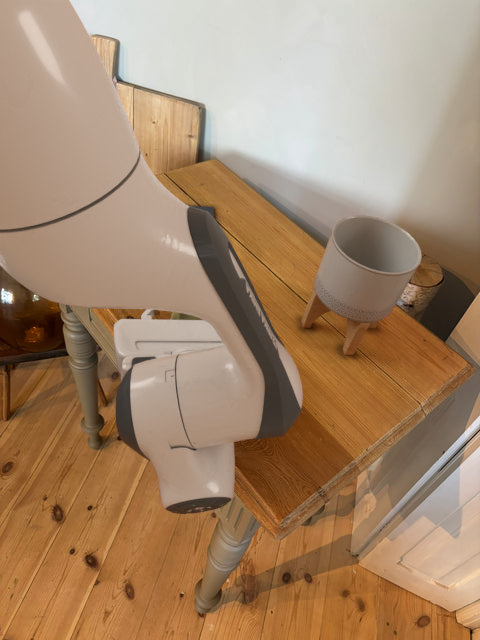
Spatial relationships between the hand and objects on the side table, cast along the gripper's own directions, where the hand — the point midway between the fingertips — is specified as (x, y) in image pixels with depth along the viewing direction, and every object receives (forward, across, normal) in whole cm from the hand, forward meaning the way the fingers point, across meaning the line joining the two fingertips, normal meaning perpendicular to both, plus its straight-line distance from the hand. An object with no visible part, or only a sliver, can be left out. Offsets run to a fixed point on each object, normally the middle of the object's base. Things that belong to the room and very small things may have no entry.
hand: (187, 302), depth 68 cm
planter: (+2, -26, +7) cm, 27 cm away
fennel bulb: (0, 0, +7) cm, 7 cm away
